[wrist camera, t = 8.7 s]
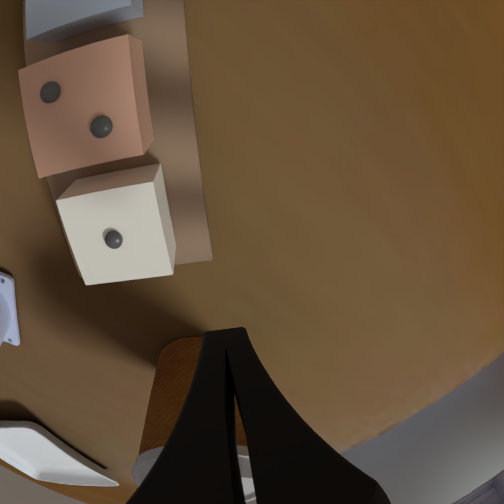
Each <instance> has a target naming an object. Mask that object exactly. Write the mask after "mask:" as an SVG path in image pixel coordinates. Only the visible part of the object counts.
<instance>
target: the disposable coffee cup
mask: <svg viewBox="0 0 504 504" xmlns="http://www.w3.org/2000/svg"><path fill="white" fill-rule="evenodd" d="M201 344H202V337H185V338H181V339H178V340H175V341H173V342H171V343H169V344H168V345H166V346H165V347H164V348H163V350H162V351H161V353H160V356H159V360H158V364H157V368H156V373H155V377H154V382H153V386H152V391H151V395H150V400H149V405H148V410H147V414H146V419H145V424H144V430H143V435H142V440H141V445H140V451H139V456H138V457H137V458H136V462H135V463H134V464H133V466H132V469H131V474H132V476H133V478H134V479H135V480H136V483H137V488H138V487H139V486H140V484H141V483H142V481H143V480H144V478H145V477H146V475H147V474H148V472H149V471H150V469H151V468H152V466H153V465H154V463H155V462H156V460H157V458H158V456H159V455H160V453H161V451H162V449H163V447H164V446H165V444H166V442H167V440H168V438H169V436H170V434H171V432H172V430H173V428H174V426H175V424H176V421H177V419H178V417H179V415H180V412H181V410H182V407H183V405H184V402H185V399H186V397H187V394H188V391H189V389H190V386H191V383H192V379H193V376H194V373H195V370H196V366H197V362H198V358H199V354H200V350H201ZM234 394H235V393H234ZM235 414H236V435H237V451H238V460H239V466H240V472H241V478H242V484H243V490H244V495H245V501H246V502H248V501H251V500H254V499H256V496H255V490H254V484H253V478H252V472H251V466H250V460H249V454H248V448H247V441H246V436H245V432H244V428H243V425H242V421H241V417H240V413H239V409H238V405H237V401H236V397H235Z"/></svg>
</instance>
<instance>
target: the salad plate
mask: <svg viewBox="0 0 504 504" xmlns="http://www.w3.org/2000/svg"><path fill="white" fill-rule="evenodd" d="M0 458H1V459H2V460H4V461H5V462H7V463H9V464H10V465H12V466H14V467H15V468H17V469H19V470H20V471H22V472H24V473H25V474H27V475H29V476H31V477H33V478H34V479H37V480H42V481H48V482H54V483H61V484H70V485H86V486H119V483H118V482H117V480H116V479H115V478H114V477H113V476H112V475H111V474H110V473H108V472H107V471H106V470H104V469H103V468H101V467H100V466H98V465H96V464H95V463H93V462H91V461H90V460H88V459H87V458H85V457H84V456H82V455H81V454H79V453H78V452H76V451H75V450H73V449H72V448H71V447H69V446H68V445H66V444H65V443H63V442H62V441H61V440H59V439H58V438H56V437H55V436H54V435H52V434H51V433H50V432H48V431H47V430H46V429H44V428H43V427H42V426H40V425H38V424H36V423H34V422H31V421H1V420H0Z"/></svg>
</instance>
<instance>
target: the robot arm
mask: <svg viewBox="0 0 504 504" xmlns="http://www.w3.org/2000/svg"><path fill="white" fill-rule="evenodd" d="M2 278H3V279H4V280H3V279H2ZM3 341H5V342H8V343H10V344H13V345H16V346H18V345H19V344H20V336H19V329H18V320H17V311H16V301H15V288H14V280H13V278H12V277H11V276H10V275H8V274H5V273H2V272H0V346H1V344H2V342H3ZM234 393H235V394H234ZM235 397H236V401H237V405H238V409H239V413H240V417H241V421H242V425H243V428H244V432H245V436H246V441H247V448H248V454H249V460H250V466H251V472H252V478H253V484H254V490H255V496H256V502H257V504H391V503H390V501H389V499H388V497H387V495H386V493H385V492H384V490H383V489H382V488H381V486H380V485H379V484H378V483H377V481H376V480H374V479H373V478H371V477H370V476H368V475H367V474H365V473H364V472H362V471H361V470H360V469H358V468H357V467H355V466H354V465H352V464H351V463H350V462H349V461H348V460H346V459H345V458H344V457H342V456H341V455H340V454H339V453H337V452H336V451H335V450H334V449H333V448H332V447H331V446H330V445H329V444H327V443H326V442H325V441H324V440H323V439H322V438H321V437H320V436H319V435H318V434H317V433H315V432H314V431H313V429H312V428H311V427H310V426H309V425H308V424H307V423H306V422H305V421H304V420H303V419H302V418H301V417H300V416H299V414H298V413H297V412H296V411H295V410H294V409H293V407H292V406H291V405H290V404H289V403H288V401H287V400H286V399H285V397H284V396H283V395H282V393H281V392H280V391H279V389H278V388H277V387H276V385H275V384H274V382H273V381H272V379H271V378H270V376H269V375H268V373H267V371H266V370H265V368H264V367H263V365H262V363H261V362H260V360H259V358H258V356H257V354H256V352H255V351H254V349H253V346H252V344H251V342H250V340H249V337H248V334H247V331H246V329H245V328H243V327H238V328H230V329H223V330H215V331H207V332H205V333H204V334H203V337H202V344H201V350H200V354H199V358H198V362H197V366H196V370H195V373H194V376H193V379H192V383H191V386H190V389H189V391H188V394H187V397H186V399H185V402H184V405H183V407H182V410H181V412H180V415H179V417H178V419H177V421H176V424H175V426H174V428H173V430H172V432H171V434H170V436H169V438H168V440H167V442H166V444H165V446H164V447H163V449H162V451H161V453H160V455H159V456H158V458H157V460H156V462H155V463H154V465H153V466H152V468H151V469H150V471H149V472H148V474H147V475H146V477H145V478H144V480H143V481H142V483H141V484H140V486H139V487H138V489H137V490H136V491H135V493H134V494H133V495H132V496H131V498H130V499H129V500H128V501H127V503H126V504H246V501H245V495H244V490H243V484H242V478H241V472H240V466H239V460H238V451H237V435H236V414H235ZM452 504H504V470H503V471H501V472H500V473H499V474H497V475H496V476H494V477H493V478H492V479H491V480H489V481H487V482H486V483H484V484H483V485H481V486H480V487H478V488H477V489H475V490H474V491H472V492H471V493H469V494H468V495H466V496H464V497H463V498H461V499H459V500H458V501H456V502H454V503H452Z"/></svg>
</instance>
